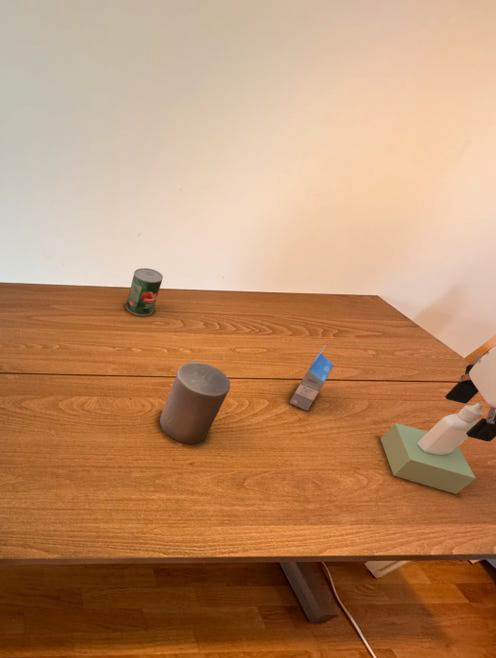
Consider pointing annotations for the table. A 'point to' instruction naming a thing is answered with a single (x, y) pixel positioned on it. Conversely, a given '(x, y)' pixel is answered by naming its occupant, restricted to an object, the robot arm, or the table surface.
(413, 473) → the block
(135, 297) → the canned tomato
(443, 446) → the eye dropper bottle
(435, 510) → the table surface
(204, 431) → the pillar candle
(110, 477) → the table surface
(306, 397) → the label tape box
